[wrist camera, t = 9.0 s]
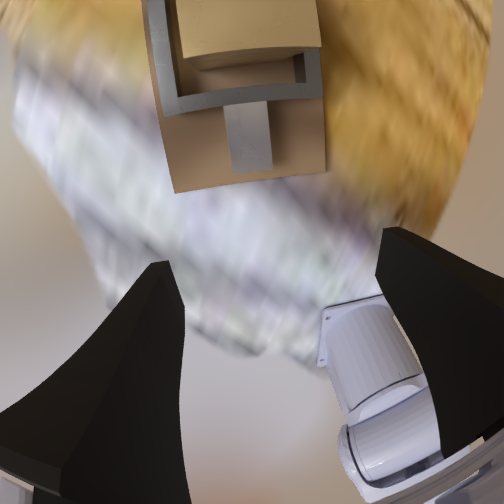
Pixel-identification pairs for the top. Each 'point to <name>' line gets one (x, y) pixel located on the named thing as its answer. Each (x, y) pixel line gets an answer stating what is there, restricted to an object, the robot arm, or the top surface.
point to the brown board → (233, 111)
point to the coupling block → (246, 31)
